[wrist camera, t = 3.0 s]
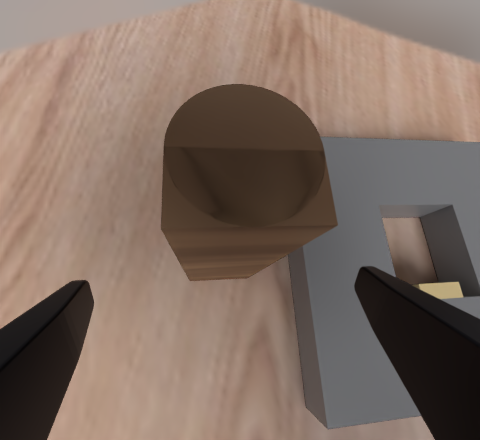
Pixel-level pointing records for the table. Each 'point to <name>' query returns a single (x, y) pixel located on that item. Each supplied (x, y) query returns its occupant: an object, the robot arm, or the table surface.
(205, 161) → the walnut peg
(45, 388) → the robot arm
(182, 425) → the table surface
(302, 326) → the hub plate
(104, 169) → the table surface
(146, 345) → the table surface
